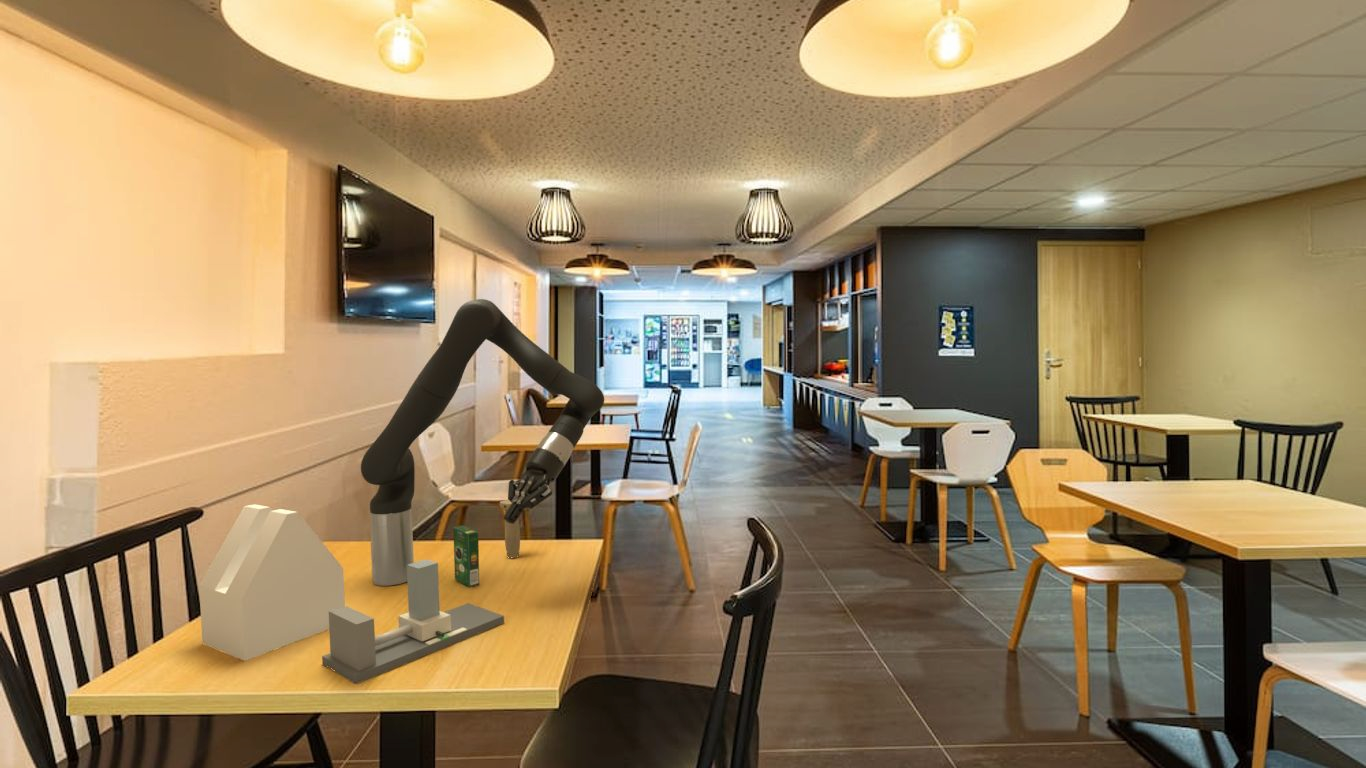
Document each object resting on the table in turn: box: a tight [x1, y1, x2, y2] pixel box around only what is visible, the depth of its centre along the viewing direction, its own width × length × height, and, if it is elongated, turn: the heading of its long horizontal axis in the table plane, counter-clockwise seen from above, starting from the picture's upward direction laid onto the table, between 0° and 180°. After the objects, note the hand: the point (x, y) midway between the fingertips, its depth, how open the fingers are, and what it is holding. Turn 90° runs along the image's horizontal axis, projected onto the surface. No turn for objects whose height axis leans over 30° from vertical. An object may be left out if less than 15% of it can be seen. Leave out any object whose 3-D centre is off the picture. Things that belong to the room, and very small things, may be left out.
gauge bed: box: [321, 602, 505, 685], centre depth 125 cm, size 12×30×10 cm, turn 143°
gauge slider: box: [375, 559, 451, 646], centre depth 122 cm, size 10×14×13 cm
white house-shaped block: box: [198, 503, 346, 662], centre depth 130 cm, size 19×15×25 cm
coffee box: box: [452, 525, 480, 588], centre depth 157 cm, size 8×3×13 cm, turn 44°
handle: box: [499, 499, 521, 559], centre depth 177 cm, size 5×6×15 cm
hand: (508, 521), depth 141 cm, fingers closed
